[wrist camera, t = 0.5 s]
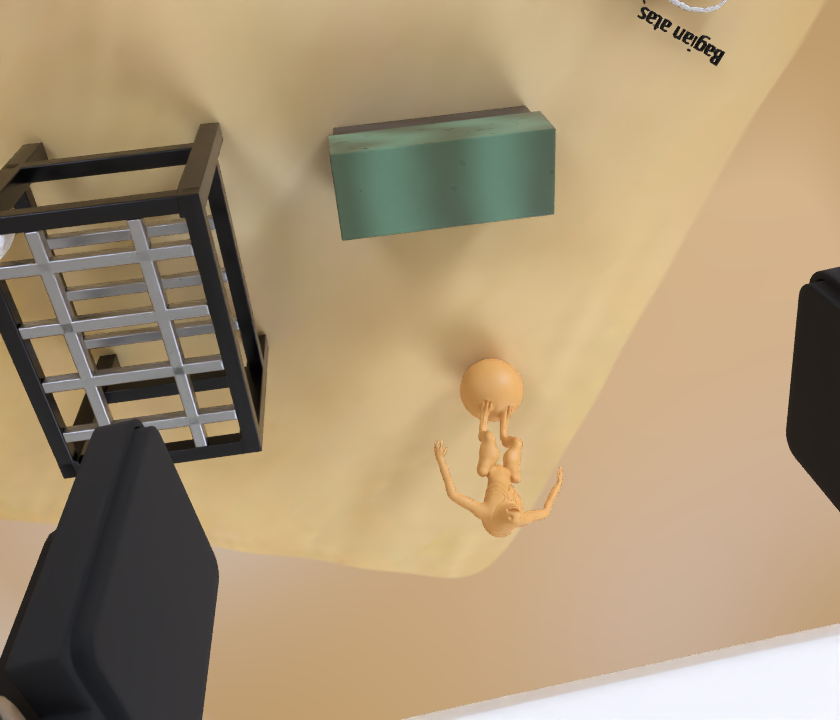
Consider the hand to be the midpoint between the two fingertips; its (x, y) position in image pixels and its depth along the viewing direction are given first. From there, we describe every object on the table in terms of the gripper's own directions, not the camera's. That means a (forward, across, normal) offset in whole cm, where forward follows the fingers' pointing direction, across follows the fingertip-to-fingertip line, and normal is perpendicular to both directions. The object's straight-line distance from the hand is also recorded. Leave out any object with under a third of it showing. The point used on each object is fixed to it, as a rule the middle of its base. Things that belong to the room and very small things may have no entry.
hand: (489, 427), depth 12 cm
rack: (+34, +14, +10) cm, 38 cm away
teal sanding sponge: (+34, -3, +7) cm, 34 cm away
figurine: (+34, -3, +23) cm, 41 cm away
